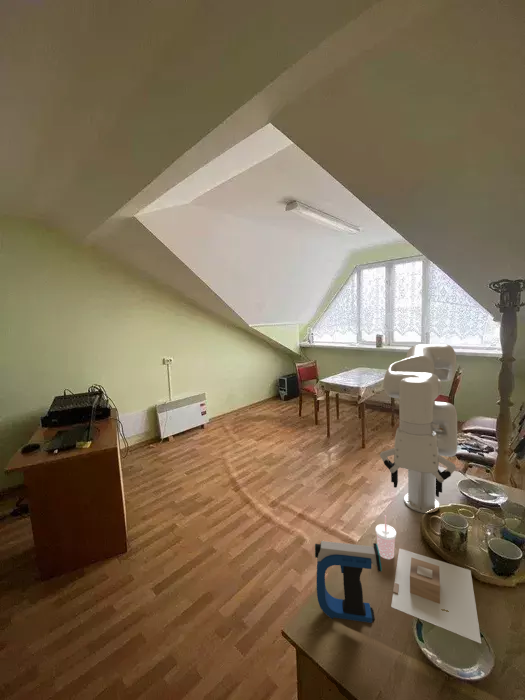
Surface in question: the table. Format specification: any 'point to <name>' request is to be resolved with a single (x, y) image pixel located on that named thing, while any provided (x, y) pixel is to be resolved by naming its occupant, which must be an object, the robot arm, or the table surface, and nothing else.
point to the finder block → (425, 580)
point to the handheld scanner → (346, 578)
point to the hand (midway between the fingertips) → (415, 489)
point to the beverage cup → (386, 540)
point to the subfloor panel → (452, 597)
